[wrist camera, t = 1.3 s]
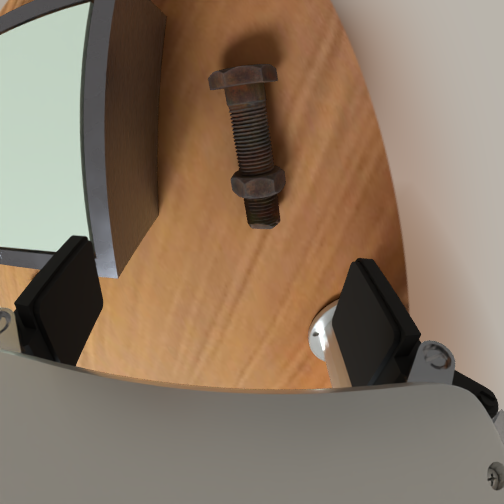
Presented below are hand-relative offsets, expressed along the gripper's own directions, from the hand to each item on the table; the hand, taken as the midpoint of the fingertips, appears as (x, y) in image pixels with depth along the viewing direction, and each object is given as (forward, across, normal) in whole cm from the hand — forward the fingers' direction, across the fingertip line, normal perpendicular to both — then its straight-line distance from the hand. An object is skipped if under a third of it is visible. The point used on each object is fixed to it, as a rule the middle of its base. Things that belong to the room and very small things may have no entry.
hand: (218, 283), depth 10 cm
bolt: (+21, -2, -1) cm, 21 cm away
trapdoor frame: (+21, +16, -4) cm, 26 cm away
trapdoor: (+15, +20, -4) cm, 25 cm away
